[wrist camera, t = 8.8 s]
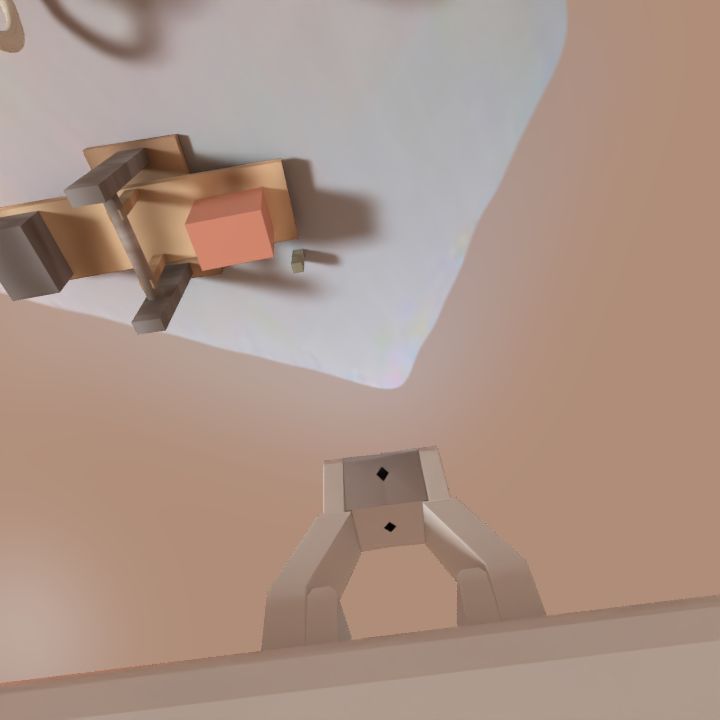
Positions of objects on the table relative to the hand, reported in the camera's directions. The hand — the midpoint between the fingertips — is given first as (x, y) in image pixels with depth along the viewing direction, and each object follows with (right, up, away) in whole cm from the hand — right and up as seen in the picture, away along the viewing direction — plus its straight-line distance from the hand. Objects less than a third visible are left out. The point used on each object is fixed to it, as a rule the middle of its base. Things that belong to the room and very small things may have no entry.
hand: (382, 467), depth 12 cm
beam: (-20, +15, +30) cm, 39 cm away
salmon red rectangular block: (-12, +16, +30) cm, 36 cm away
